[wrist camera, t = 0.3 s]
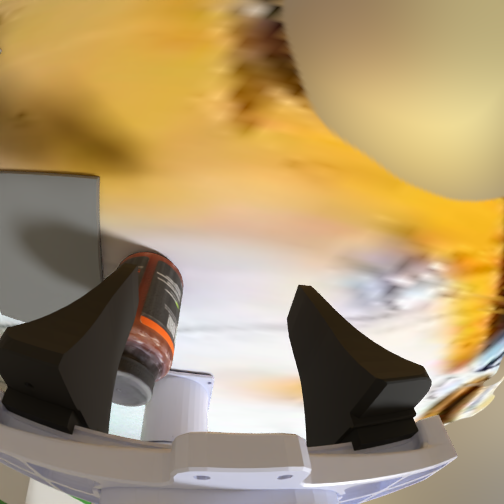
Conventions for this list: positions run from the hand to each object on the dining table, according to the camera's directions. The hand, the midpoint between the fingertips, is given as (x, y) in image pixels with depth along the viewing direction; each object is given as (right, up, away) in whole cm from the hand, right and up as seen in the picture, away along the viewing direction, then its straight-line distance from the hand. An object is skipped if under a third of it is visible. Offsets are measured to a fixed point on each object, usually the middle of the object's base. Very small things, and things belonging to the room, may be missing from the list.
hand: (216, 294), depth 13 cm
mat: (-19, +1, +9) cm, 21 cm away
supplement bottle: (-7, 0, +11) cm, 13 cm away
